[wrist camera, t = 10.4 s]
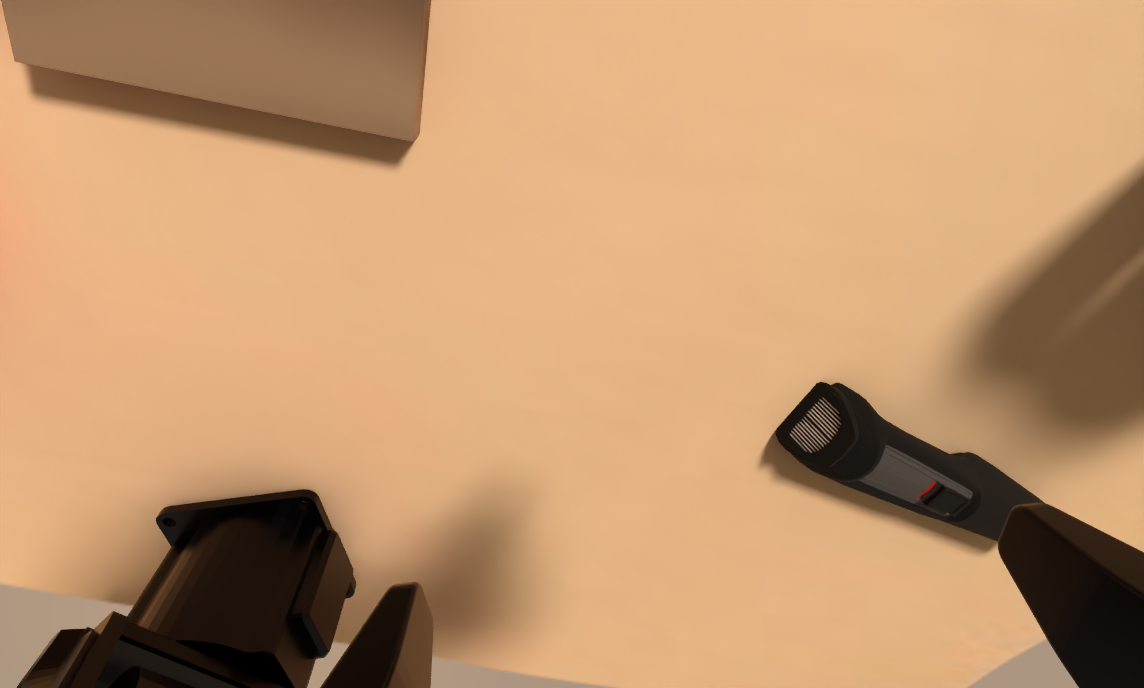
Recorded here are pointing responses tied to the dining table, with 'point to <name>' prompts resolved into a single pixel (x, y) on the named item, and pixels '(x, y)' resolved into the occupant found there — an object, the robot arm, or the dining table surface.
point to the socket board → (244, 53)
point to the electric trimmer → (897, 463)
